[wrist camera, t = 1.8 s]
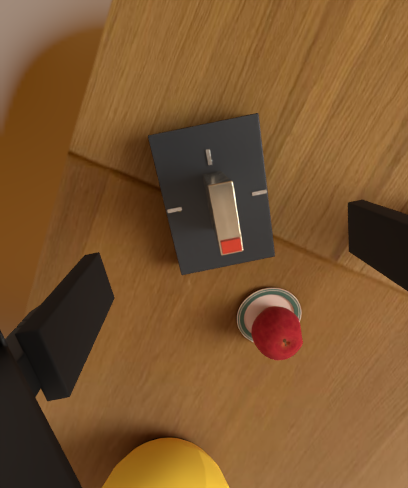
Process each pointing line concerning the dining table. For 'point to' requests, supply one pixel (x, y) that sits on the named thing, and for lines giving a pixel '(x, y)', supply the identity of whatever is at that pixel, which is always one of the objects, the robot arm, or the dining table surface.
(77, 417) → the dining table surface
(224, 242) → the pointer knob
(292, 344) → the apple
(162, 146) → the dial panel
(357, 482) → the dining table surface
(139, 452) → the vase
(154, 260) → the dining table surface
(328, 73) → the dining table surface
